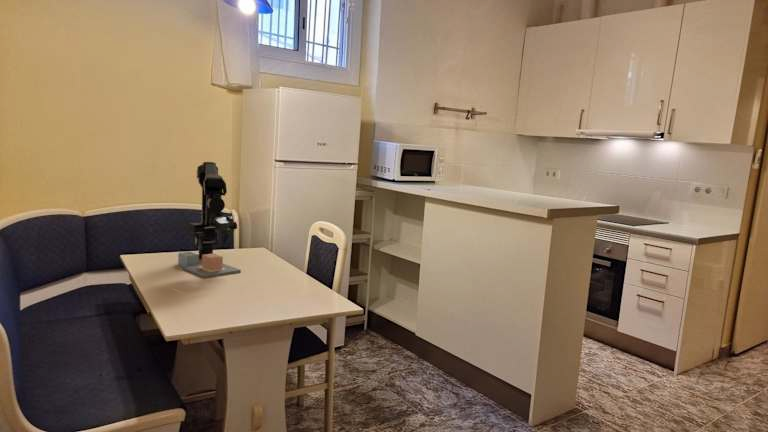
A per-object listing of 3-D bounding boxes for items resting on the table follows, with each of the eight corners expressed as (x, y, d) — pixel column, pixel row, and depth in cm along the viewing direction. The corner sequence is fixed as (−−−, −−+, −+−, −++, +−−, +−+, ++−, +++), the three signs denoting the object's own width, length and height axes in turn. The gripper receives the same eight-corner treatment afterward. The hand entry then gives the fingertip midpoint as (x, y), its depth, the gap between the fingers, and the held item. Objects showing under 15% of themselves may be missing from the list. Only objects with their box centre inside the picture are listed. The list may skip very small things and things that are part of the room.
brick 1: (178, 264, 210) (178, 252, 210) (189, 263, 214) (189, 251, 213) (186, 268, 206) (187, 256, 205) (198, 266, 210) (198, 254, 209)
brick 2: (201, 266, 204) (202, 254, 203) (213, 265, 208) (213, 253, 207) (211, 270, 200) (211, 258, 199) (222, 268, 203) (222, 256, 203)
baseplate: (182, 269, 203) (182, 266, 203) (218, 264, 215) (218, 261, 215) (204, 278, 193) (204, 275, 193) (240, 272, 205) (240, 269, 205)
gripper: (202, 212, 188) (201, 254, 190) (245, 210, 202) (244, 248, 204) (187, 208, 195) (186, 248, 197) (229, 206, 209) (228, 244, 211)
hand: (212, 247), depth 202 cm, fingers open, 9 cm apart
